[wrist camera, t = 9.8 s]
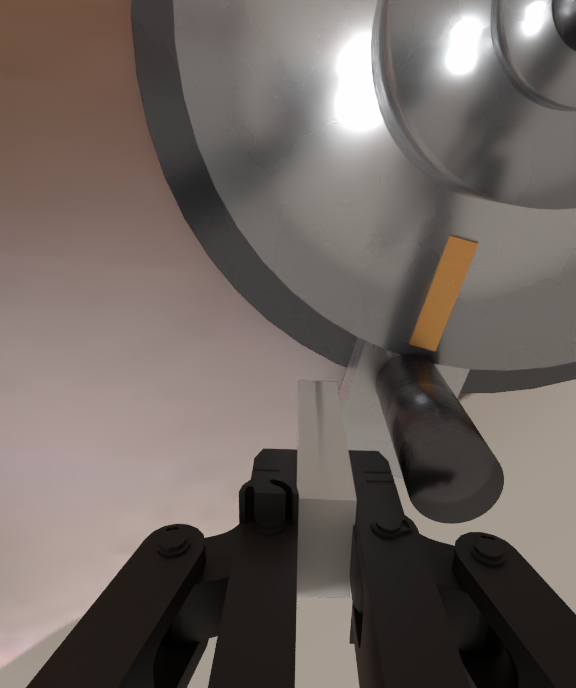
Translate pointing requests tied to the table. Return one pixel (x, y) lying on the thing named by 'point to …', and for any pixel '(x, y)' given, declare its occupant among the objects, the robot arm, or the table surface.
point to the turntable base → (219, 227)
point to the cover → (482, 95)
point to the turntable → (374, 236)
